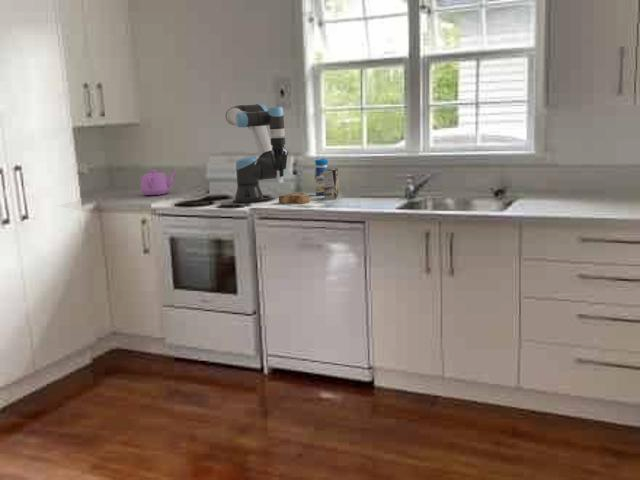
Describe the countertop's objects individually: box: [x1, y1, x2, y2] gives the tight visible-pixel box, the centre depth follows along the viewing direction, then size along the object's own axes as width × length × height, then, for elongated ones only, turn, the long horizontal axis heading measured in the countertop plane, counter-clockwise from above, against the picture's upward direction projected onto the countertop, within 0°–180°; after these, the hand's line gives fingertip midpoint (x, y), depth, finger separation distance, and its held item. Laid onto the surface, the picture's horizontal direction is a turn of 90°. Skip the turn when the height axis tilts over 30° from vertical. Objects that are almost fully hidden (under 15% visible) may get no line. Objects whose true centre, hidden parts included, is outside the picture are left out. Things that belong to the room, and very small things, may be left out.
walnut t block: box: [278, 191, 310, 204], centre depth 344 cm, size 14×13×4 cm
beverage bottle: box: [314, 158, 329, 197], centre depth 365 cm, size 8×8×20 cm
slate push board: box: [275, 199, 333, 209], centre depth 341 cm, size 26×18×1 cm
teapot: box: [140, 169, 178, 196], centre depth 406 cm, size 23×21×15 cm
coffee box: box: [323, 167, 340, 201], centre depth 351 cm, size 9×6×16 cm
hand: (280, 182), depth 351 cm, fingers closed
